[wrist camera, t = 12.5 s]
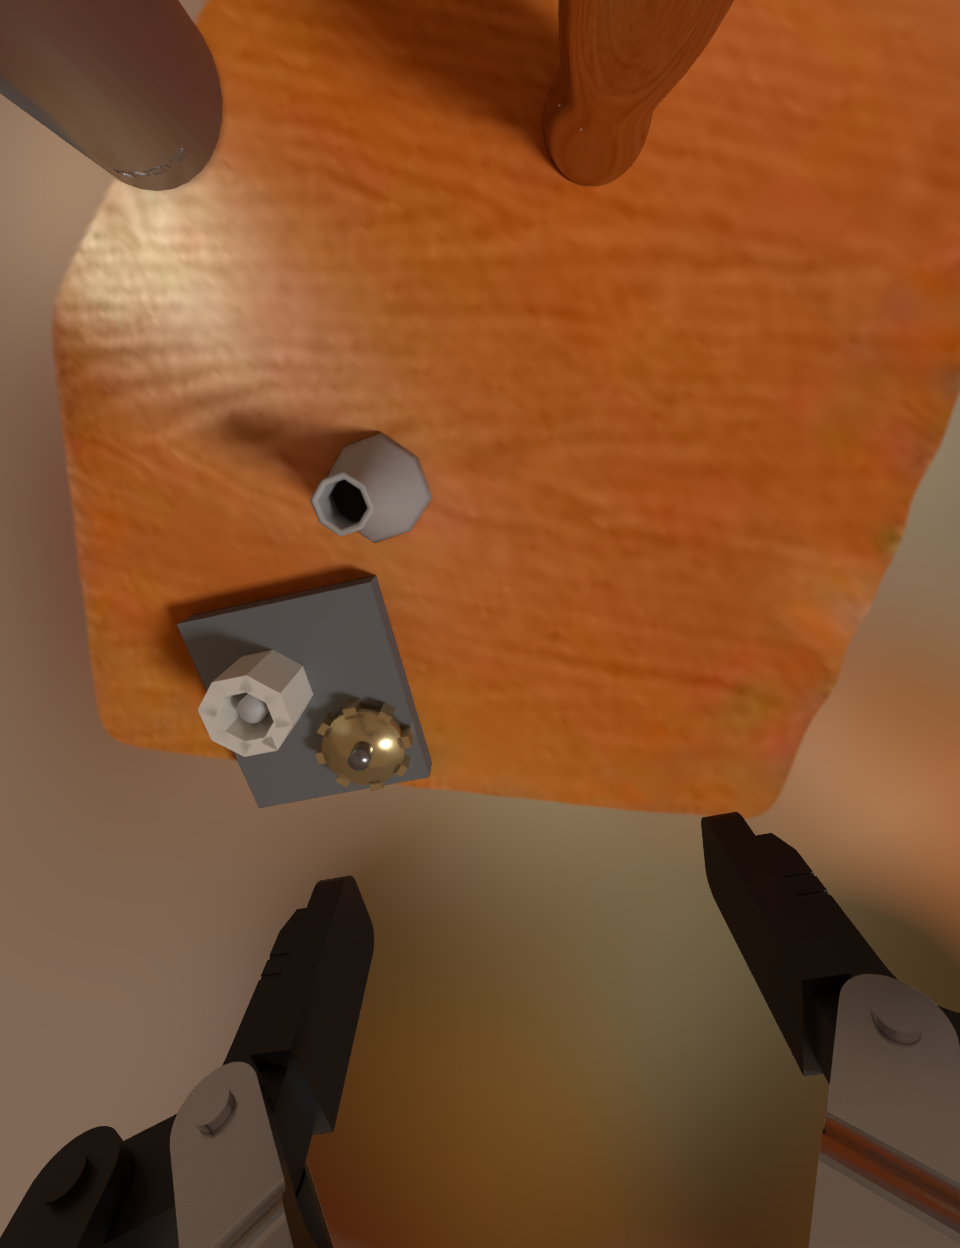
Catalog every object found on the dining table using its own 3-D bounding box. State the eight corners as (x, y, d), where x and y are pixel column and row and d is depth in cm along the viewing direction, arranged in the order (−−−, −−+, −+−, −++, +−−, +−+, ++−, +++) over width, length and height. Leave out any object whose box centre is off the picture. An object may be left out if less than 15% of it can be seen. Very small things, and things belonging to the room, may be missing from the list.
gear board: (191, 615, 39) (146, 641, 34) (375, 575, 38) (358, 595, 33) (268, 793, 45) (239, 838, 40) (431, 762, 44) (424, 805, 38)
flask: (307, 479, 36) (244, 491, 26) (384, 412, 34) (346, 399, 25) (374, 559, 38) (337, 596, 28) (450, 499, 36) (438, 518, 27)
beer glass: (572, 13, 27) (665, -445, 13) (680, 85, 28) (874, -273, 14) (514, 157, 30) (541, -107, 15) (616, 219, 31) (730, 24, 16)
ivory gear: (220, 660, 38) (187, 687, 34) (295, 645, 38) (271, 670, 34) (249, 728, 40) (221, 761, 36) (320, 714, 40) (300, 746, 36)
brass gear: (307, 708, 40) (294, 728, 37) (399, 689, 39) (392, 709, 36) (337, 786, 42) (326, 810, 39) (424, 770, 41) (419, 793, 39)
